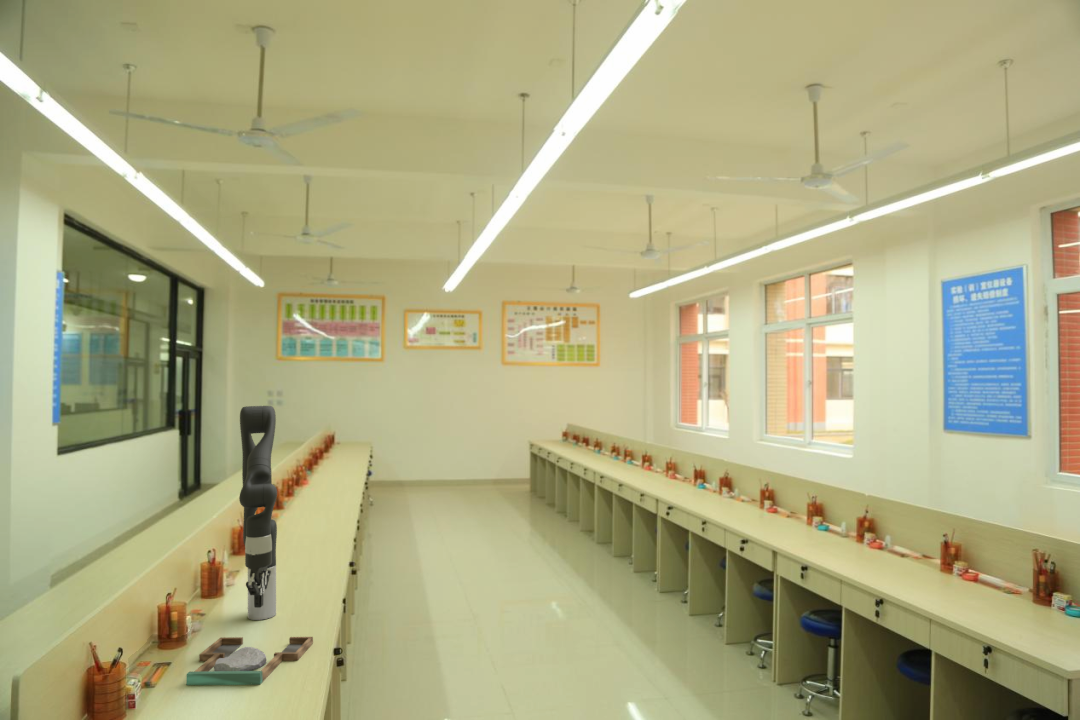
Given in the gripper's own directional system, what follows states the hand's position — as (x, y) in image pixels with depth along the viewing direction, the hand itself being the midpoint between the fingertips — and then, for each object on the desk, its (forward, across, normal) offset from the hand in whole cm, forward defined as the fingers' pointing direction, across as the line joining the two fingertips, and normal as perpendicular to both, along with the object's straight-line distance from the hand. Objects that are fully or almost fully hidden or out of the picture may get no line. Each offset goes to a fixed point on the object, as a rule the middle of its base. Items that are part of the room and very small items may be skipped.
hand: (258, 606), depth 206 cm
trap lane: (+13, +8, 0) cm, 16 cm away
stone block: (+14, +12, 0) cm, 18 cm away
